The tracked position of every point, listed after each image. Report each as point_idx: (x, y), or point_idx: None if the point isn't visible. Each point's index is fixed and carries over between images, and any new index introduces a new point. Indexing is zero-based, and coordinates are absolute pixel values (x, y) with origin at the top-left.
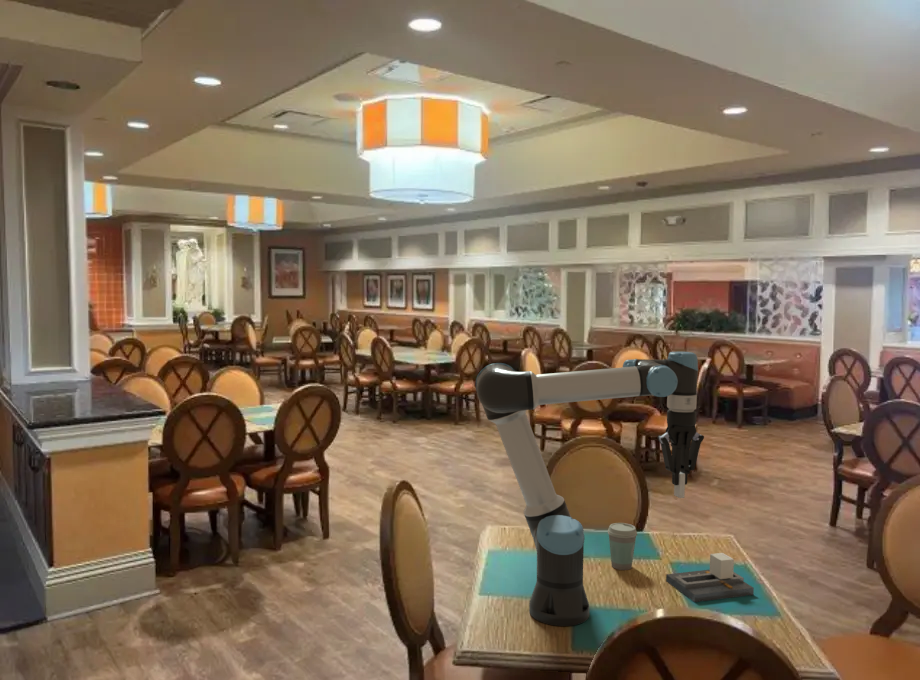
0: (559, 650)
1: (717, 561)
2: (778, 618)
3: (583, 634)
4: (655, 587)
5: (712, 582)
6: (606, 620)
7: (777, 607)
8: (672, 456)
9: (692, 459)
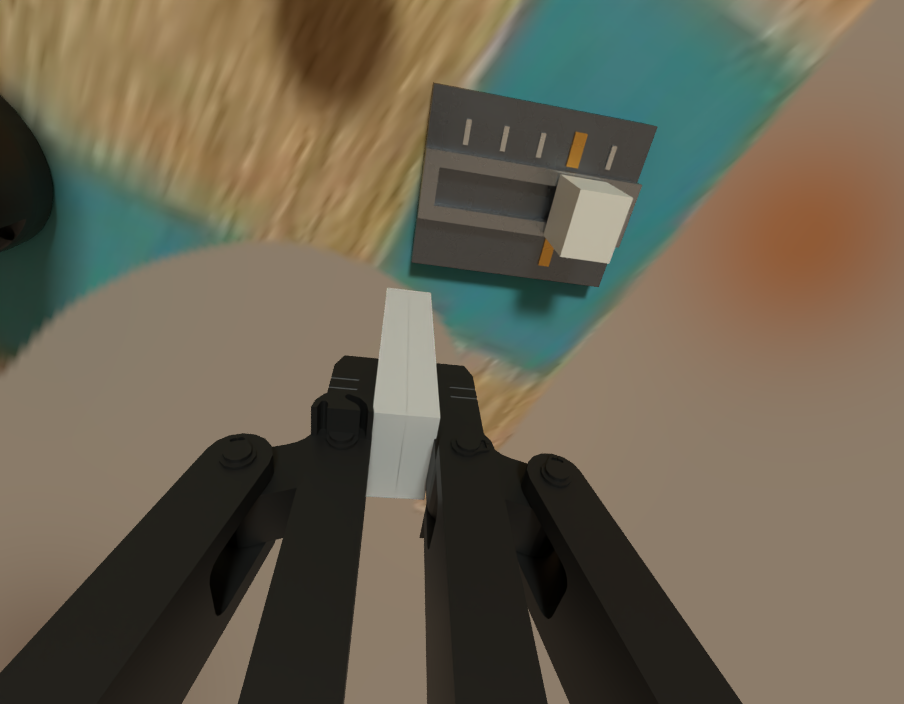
0: None
1: (563, 233)
2: (529, 384)
3: (13, 295)
4: (364, 113)
5: (512, 230)
6: (102, 253)
7: (577, 347)
8: (261, 642)
9: (551, 656)
